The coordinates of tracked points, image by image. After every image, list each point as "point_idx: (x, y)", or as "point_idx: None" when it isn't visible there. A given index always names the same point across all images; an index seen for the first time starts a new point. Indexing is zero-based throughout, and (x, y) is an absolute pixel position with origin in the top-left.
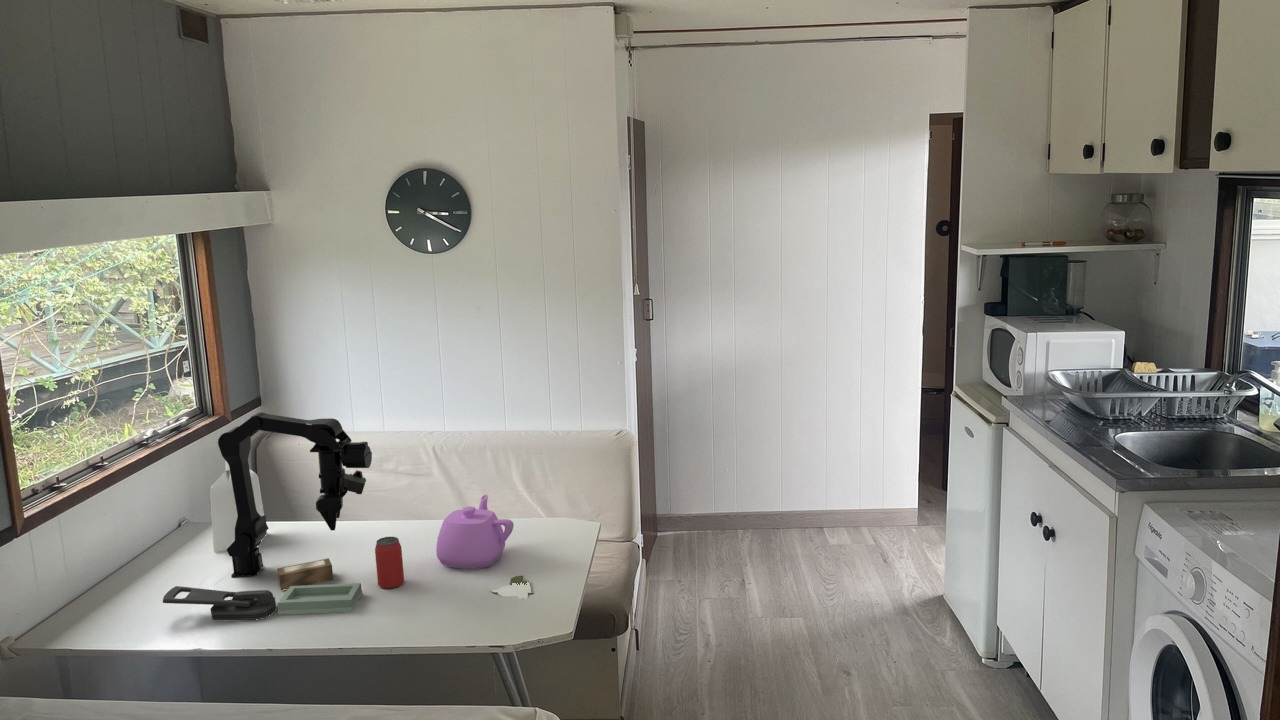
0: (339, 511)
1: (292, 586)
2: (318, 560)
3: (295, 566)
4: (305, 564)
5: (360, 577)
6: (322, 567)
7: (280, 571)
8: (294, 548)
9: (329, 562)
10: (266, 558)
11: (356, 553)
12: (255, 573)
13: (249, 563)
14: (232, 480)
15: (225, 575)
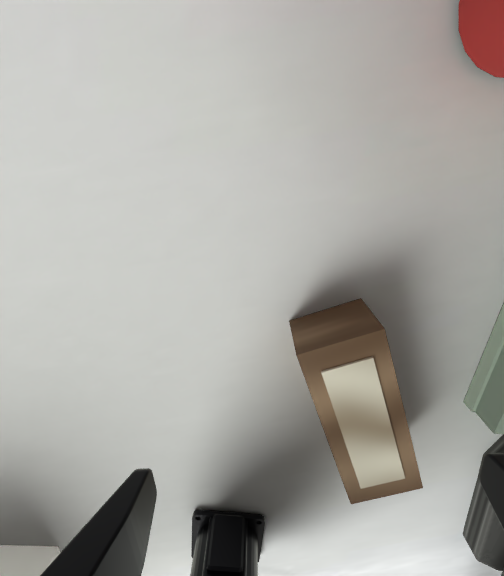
0: (121, 531)
1: (501, 426)
2: (313, 390)
3: (358, 457)
4: (349, 429)
5: (371, 190)
6: (390, 361)
7: (386, 490)
8: (48, 463)
9: (351, 344)
10: None
11: (93, 254)
12: (258, 520)
13: (252, 565)
14: None
15: None
